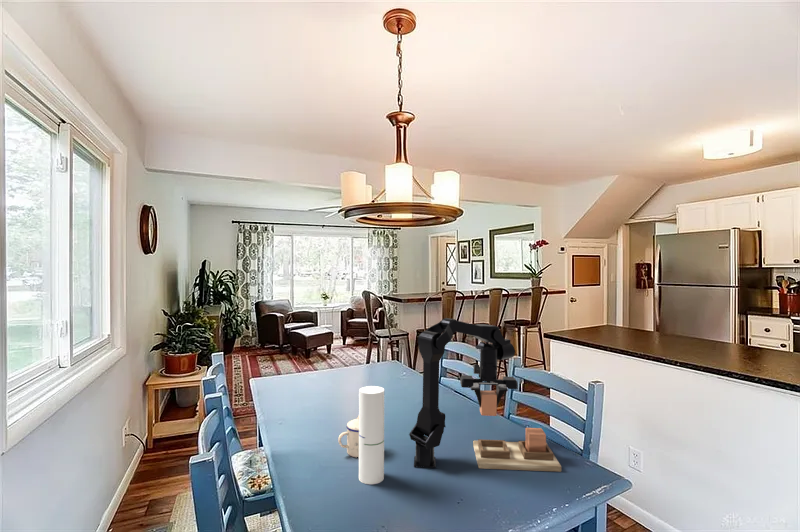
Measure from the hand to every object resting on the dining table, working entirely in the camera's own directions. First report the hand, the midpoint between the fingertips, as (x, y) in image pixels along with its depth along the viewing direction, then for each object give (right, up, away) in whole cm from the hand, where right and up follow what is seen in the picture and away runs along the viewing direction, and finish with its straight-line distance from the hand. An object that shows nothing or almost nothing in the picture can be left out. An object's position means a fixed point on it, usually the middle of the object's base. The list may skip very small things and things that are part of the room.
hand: (488, 407), depth 142 cm
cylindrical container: (-38, -12, -24) cm, 47 cm away
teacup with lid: (-44, -12, -9) cm, 47 cm away
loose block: (0, -2, 0) cm, 2 cm away
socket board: (+6, -12, -12) cm, 18 cm away
